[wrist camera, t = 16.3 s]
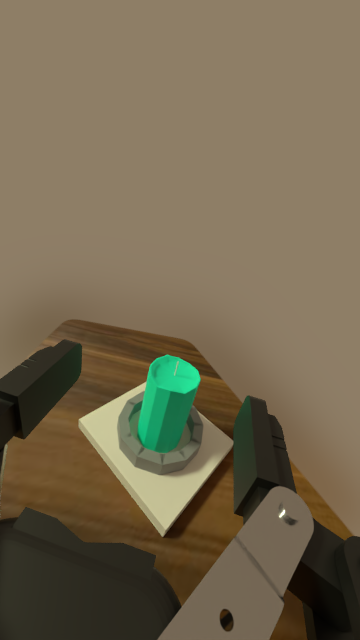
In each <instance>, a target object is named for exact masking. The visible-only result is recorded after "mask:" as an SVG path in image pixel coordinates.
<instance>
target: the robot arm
mask: <svg viewBox="0 0 360 640" xmlns="http://www.w3.org/2000/svg"><path fill="white" fill-rule="evenodd" d="M81 364H82V346H81V344H79V343H76V342H72V341H69V340H66V339H65V340H62V341H61V342H60V343H58V344H57V345H56V346H54V347H51V346H50V347H47V348H44V349H42V350H39V351H37V352H36V353H35V354H33V355H32V356H31V357H29V359H28V360H25V361H24V362H23V363H21V365H19V366H17V367H16V368H15V369H13V370H12V371H10V372H9V373H8V374H7V375H5V376H4V377H3V378H1V379H0V640H269V638H270V636H271V634H272V632H273V630H274V628H275V625H276V623H277V621H278V619H279V617H280V614H281V612H282V609H283V606H284V599H283V595H284V592H285V590H286V588H287V589H288V590H289V591H291V592H292V593H293V594H294V595H295V596H297V597H298V598H299V599H300V600H301V601H302V603H303V610H304V617H305V625H306V632H307V639H308V640H360V537H357V536H352V537H349V538H348V539H346V540H345V541H344V540H343V539H341V538H340V537H338V536H337V535H336V534H334V533H333V532H331V531H330V530H328V529H327V528H325V527H324V526H322V525H321V524H320V523H318V522H317V521H316V520H315V519H314V518H313V517H312V515H311V513H310V510H309V508H308V507H307V505H306V504H305V502H304V501H303V500H302V499H301V498H300V497H299V496H298V495H297V492H296V489H295V484H294V480H293V475H292V471H291V466H290V462H289V458H288V453H287V451H286V444H285V442H284V435H283V431H282V428H281V425H280V424H279V422H278V421H277V419H276V417H275V416H273V415H270V414H268V413H267V406H266V402H265V401H264V400H262V399H258V398H255V397H252V396H247V397H246V398H245V401H244V403H243V405H242V407H241V409H240V411H239V413H238V415H237V418H236V420H235V424H234V431H233V447H234V514H237V515H240V516H243V524H244V526H243V527H242V529H241V530H240V531H239V533H238V534H237V535H236V537H235V538H234V539H233V540H232V541H231V543H230V544H229V545H228V547H227V548H226V549H225V551H224V552H223V553H222V555H221V556H220V557H219V559H218V560H217V561H216V562H215V564H214V565H213V566H212V568H211V569H210V570H209V572H208V573H207V574H206V576H205V577H204V578H203V580H202V581H201V582H200V584H199V585H198V586H197V588H196V589H195V590H194V592H193V593H192V594H191V596H190V597H189V598H188V600H187V601H186V602H185V603H184V605H183V606H182V607H181V604H180V602H179V599H178V597H177V596H176V594H175V592H174V590H173V588H172V587H171V585H170V584H169V582H168V581H167V579H166V578H165V577H164V576H163V575H162V574H161V573H160V571H158V570H157V569H156V568H155V567H154V562H155V558H156V555H154V554H151V553H148V552H145V551H143V550H140V549H137V548H135V547H132V546H129V545H127V544H124V543H87V542H83V541H82V540H80V539H79V538H78V537H77V536H76V535H75V534H74V533H72V532H71V531H70V530H69V529H68V528H67V527H66V526H65V525H63V524H62V523H61V522H60V521H59V520H58V519H57V518H54V517H51V516H49V515H46V514H43V513H41V512H38V511H35V510H33V509H30V508H27V507H25V509H24V510H23V512H22V513H21V515H20V516H19V517H15V518H7V519H2V520H1V489H2V482H3V475H4V468H5V461H6V453H7V443H8V441H9V440H10V439H11V438H12V437H13V436H15V437H18V438H21V439H25V438H26V437H27V436H28V435H29V434H30V432H31V431H32V430H33V429H34V428H35V427H36V426H37V425H38V424H39V422H40V421H41V420H42V419H43V418H44V417H45V416H46V415H47V413H48V412H49V411H50V410H51V409H52V408H53V407H54V406H55V405H56V403H57V402H58V401H59V400H60V399H61V398H62V397H63V396H64V394H65V393H66V392H67V391H68V390H69V389H70V388H71V387H72V386H73V384H74V383H75V382H76V381H77V379H78V378H79V376H80V373H81Z"/></svg>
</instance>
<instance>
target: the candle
mask: <svg viewBox="0 0 360 640" xmlns="http://www.w3.org/2000/svg"><path fill="white" fill-rule="evenodd" d="M200 380H201V379H200V376H199V372H198V370H197V369H195V368H194V367H193V366H192V365H191V364H189V363H187V362H186V361H184V360H182V359H180V358H178V357H174V356H170V355H165V356H163V357H160V358H157V359H156V360H155V361H154V362H153V363H152V364H151V365H150V368H149V373H148V378H147V383H146V388H145V393H144V398H143V402H142V407H141V412H140V417H139V422H138V431H137V437H138V439H139V440H140V442H141V444H142V446H143V447H145V448H146V449H149V450H152V451H155V452H158V453H167V452H169V451H171V450H173V449H174V448H176V447H177V445H178V443H179V441H180V439H181V436H182V433H183V430H184V427H185V424H186V421H187V418H188V416H189V413H190V410H191V407H192V404H193V401H194V398H195V395H196V392H197V389H198V386H199V383H200Z"/></svg>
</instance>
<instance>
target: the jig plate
mask: <svg viewBox="0 0 360 640" xmlns="http://www.w3.org/2000/svg"><path fill="white" fill-rule="evenodd" d="M146 383H147V382H145V383H143V384H142V385H140V386H138V387H136V388H134V389H133V390H131V391H129V392H127V393H125V394H124V395H122V396H120V397H118V398H116V399H115V400H113V401H111V402H109V403H108V404H106V405H104V406H102V407H100V408H99V409H97V410H95V411H93V412H91V413H90V414H88V415H86V416H84V417H82V418H81V419H79V428H80V429H81V431H82V432H83V433H84V435H85V436H86V437H87V439H88V440H89V441H90V443H91V444H92V445H93V446H94V448H95V449H96V450H97V452H98V453H99V454H100V456H101V457H102V458H103V460H104V461H105V462H106V464H107V465H108V466H109V467H110V469H111V470H112V471H113V473H114V474H115V475H116V477H117V478H118V479H119V481H120V482H121V483H122V484H123V486H124V487H125V488H126V490H127V491H128V492H129V494H130V495H131V496H132V498H133V499H134V500H135V501H136V503H137V504H138V505H139V507H140V508H141V509H142V511H143V512H144V513H145V515H146V516H147V517H148V518H149V520H150V521H151V522H152V524H153V525H154V526H155V528H156V529H157V530H158V532H159V533H160V534H161V535H162V537H163V536H164V535H165V534H166V533H167V531H168V530H169V529H170V527H171V526H172V525H173V524H174V522H175V521H176V520H177V518H178V517H179V516H180V514H181V513H182V512H183V511H184V509H185V508H186V507H187V505H188V504H189V503H190V502H191V500H192V499H193V498H194V496H195V495H196V494H197V493H198V491H199V490H200V489H201V487H202V486H203V485H204V483H205V482H206V481H207V480H208V478H209V477H210V476H211V474H212V473H213V472H214V471H215V469H216V468H217V467H218V465H219V464H220V463H221V461H222V460H223V459H224V458H225V456H226V455H227V454H228V452H229V451H230V450H231V448H232V446H233V440H232V439H230V438H229V437H228V436H227V435H226V434H224V433H223V432H222V431H221V430H220V429H218V428H217V427H216V426H215V425H214V424H212V423H211V422H210V421H209V420H208V419H206V418H205V417H204V416H203V415H202V414H200V413H199V412H198V411H197V410H196V408H195V407H194V406H193V405H192V407H191V410H190V413H189V416H188V418H187V421H186V424H185V427H184V430H183V433H182V436H181V439H180V441H179V443H178V445H177V447H176V448H174V449H173V450H171V451H169V452H167V453H158V452H155V451H152V450H149V449H146V448H145V447H143V446H142V444H141V442H140V440H139V439H138V437H137V431H138V422H139V417H140V412H141V407H142V402H143V398H144V393H145V388H146Z"/></svg>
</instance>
